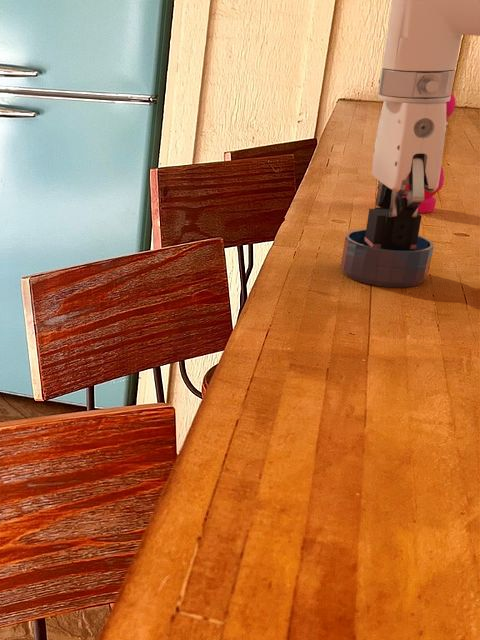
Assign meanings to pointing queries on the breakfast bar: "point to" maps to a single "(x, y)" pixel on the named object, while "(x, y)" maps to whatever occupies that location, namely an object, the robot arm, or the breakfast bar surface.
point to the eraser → (377, 227)
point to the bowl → (385, 262)
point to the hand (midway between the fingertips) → (389, 243)
